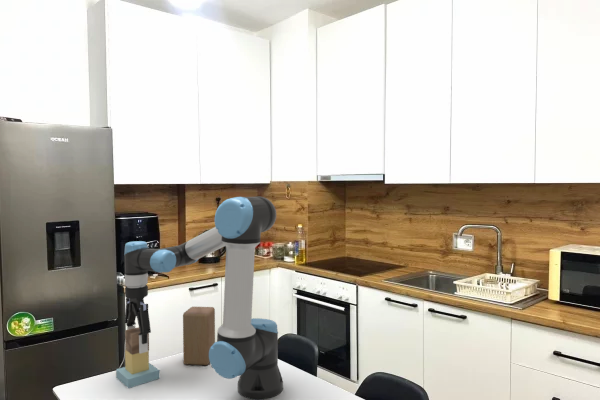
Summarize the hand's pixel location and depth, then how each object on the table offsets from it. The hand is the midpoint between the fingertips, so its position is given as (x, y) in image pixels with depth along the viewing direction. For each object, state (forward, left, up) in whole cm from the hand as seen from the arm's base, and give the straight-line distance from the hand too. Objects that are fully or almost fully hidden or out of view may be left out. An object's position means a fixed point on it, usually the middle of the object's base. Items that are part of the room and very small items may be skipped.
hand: (137, 348), depth 154 cm
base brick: (0, 0, -11) cm, 11 cm away
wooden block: (-1, -24, -11) cm, 26 cm away
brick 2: (0, 0, -8) cm, 8 cm away
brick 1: (0, 0, -1) cm, 1 cm away
